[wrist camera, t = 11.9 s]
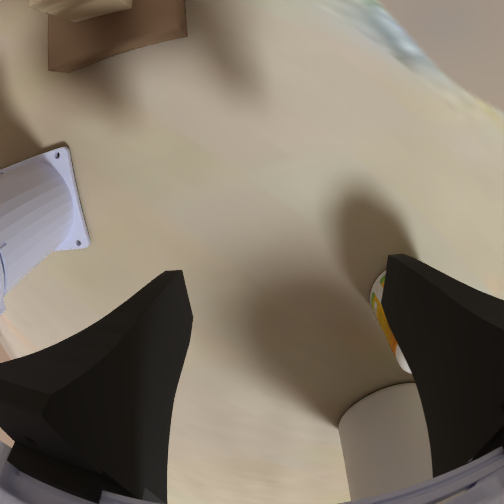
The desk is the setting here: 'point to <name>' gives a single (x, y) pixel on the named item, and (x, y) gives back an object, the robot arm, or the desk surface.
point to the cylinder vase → (386, 442)
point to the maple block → (79, 8)
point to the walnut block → (113, 33)
